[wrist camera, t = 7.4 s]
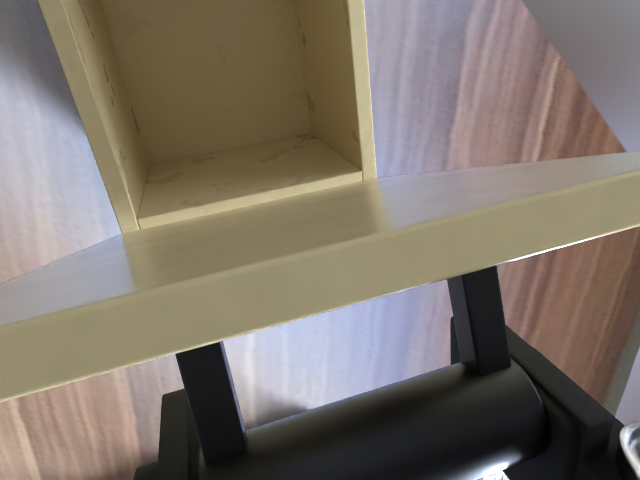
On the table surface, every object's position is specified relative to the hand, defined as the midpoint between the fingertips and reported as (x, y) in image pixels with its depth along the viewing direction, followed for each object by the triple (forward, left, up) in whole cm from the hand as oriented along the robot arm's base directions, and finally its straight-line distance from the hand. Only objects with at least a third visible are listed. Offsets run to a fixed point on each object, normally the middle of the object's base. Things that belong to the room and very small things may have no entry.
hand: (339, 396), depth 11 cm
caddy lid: (-3, -2, -5) cm, 6 cm away
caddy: (-7, -5, -23) cm, 25 cm away
